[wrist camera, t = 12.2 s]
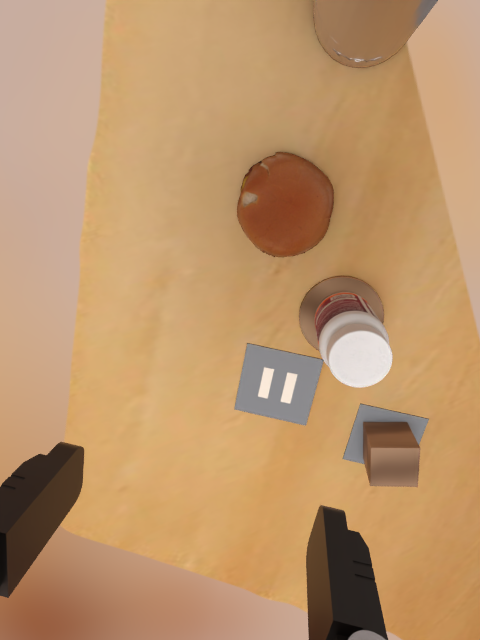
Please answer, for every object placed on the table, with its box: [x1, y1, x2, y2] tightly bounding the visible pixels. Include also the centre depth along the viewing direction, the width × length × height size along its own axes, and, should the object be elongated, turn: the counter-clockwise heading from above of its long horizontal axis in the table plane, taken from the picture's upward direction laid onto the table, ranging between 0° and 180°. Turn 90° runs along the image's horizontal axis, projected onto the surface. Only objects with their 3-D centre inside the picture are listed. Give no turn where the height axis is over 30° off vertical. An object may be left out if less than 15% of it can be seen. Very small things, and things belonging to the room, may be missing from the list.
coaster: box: [299, 276, 384, 351], centre depth 43 cm, size 9×9×1 cm
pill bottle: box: [315, 292, 392, 387], centre depth 37 cm, size 6×6×11 cm
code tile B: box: [343, 404, 429, 464], centre depth 47 cm, size 8×8×1 cm
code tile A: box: [235, 343, 324, 426], centre depth 47 cm, size 9×9×1 cm
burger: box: [237, 152, 333, 257], centre depth 38 cm, size 10×9×5 cm
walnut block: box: [363, 422, 420, 487], centre depth 45 cm, size 5×5×5 cm
